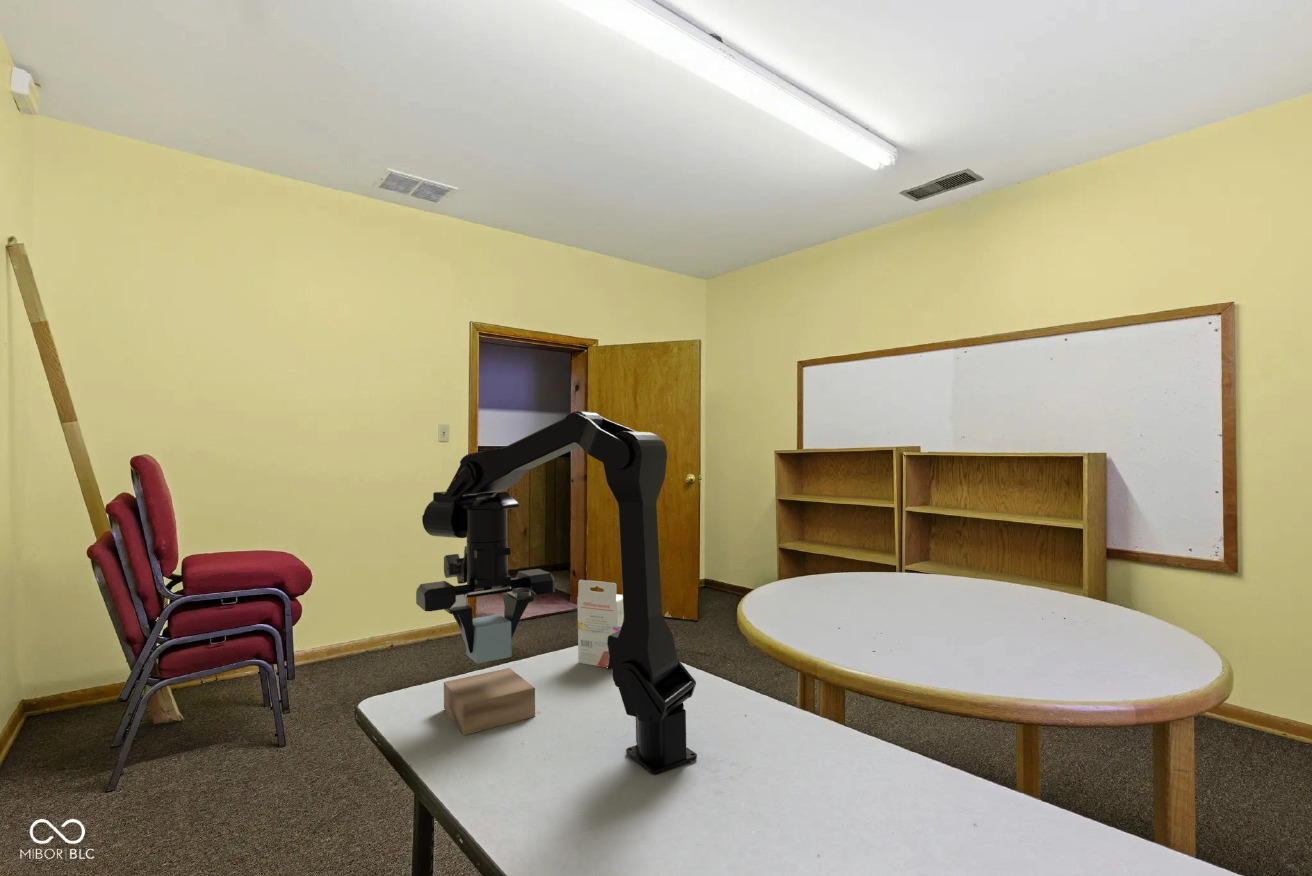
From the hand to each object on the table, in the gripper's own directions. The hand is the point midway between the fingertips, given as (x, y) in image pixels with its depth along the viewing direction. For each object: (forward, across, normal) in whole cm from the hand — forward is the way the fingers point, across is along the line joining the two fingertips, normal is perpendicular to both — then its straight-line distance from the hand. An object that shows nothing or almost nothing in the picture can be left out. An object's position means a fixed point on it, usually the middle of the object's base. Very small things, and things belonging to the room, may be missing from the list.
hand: (488, 648), depth 90 cm
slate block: (+1, 0, 0) cm, 1 cm away
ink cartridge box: (+10, -24, -9) cm, 27 cm away
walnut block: (+9, 0, 0) cm, 9 cm away
